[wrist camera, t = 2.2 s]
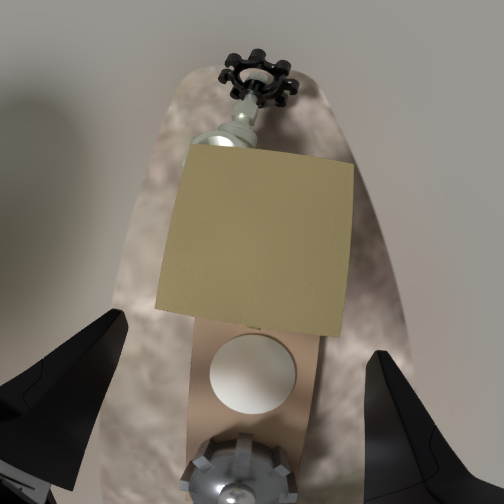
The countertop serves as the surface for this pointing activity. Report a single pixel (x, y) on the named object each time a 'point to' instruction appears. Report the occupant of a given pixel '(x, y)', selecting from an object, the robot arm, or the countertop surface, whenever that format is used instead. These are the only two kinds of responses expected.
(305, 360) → the carrier board
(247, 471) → the sun gear
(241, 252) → the gold tall block
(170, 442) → the countertop surface
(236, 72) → the valve
